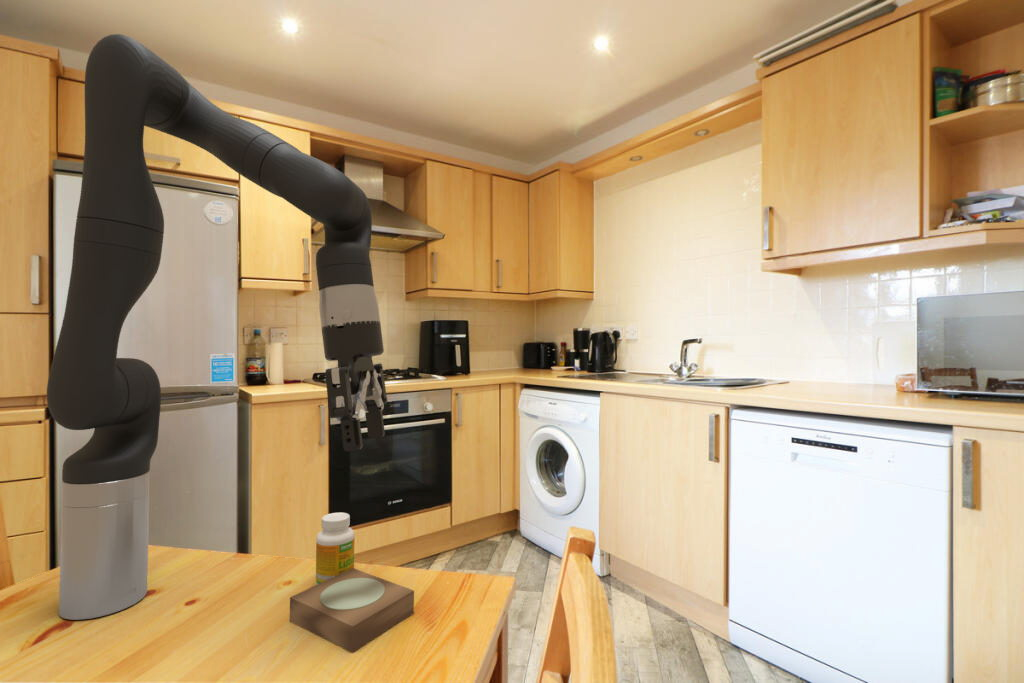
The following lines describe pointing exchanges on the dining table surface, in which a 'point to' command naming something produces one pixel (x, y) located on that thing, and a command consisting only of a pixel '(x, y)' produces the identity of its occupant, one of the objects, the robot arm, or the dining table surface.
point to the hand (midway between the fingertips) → (365, 443)
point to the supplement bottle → (334, 547)
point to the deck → (351, 608)
